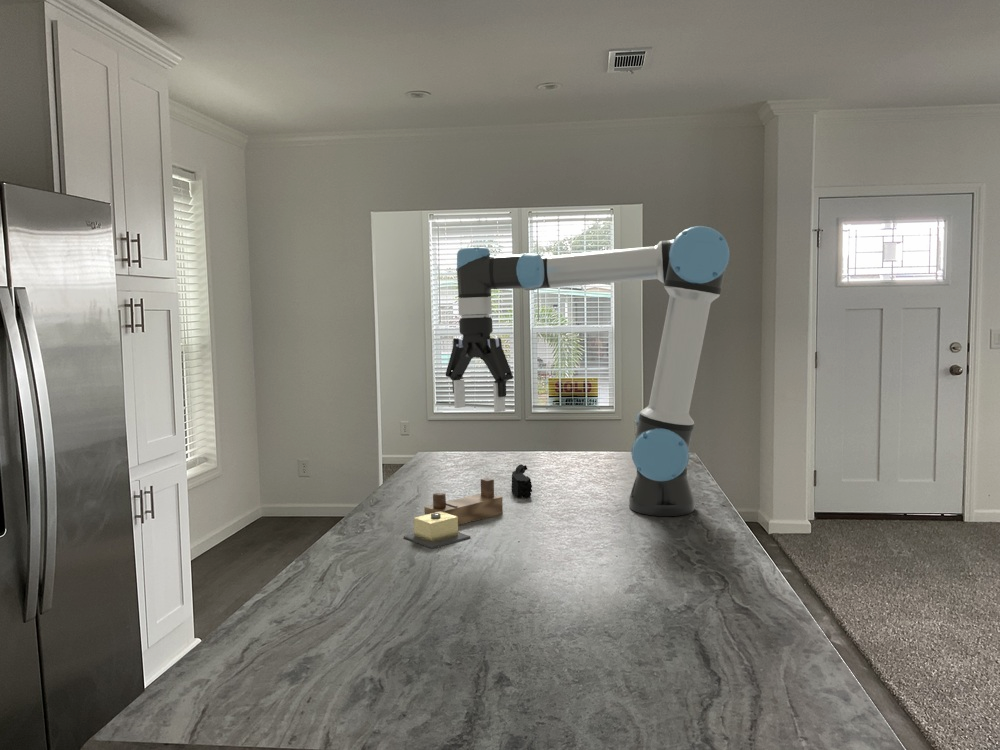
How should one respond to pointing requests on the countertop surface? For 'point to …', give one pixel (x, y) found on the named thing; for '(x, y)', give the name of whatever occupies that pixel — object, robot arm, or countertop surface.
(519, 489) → the toy
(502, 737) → the countertop surface
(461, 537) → the mat
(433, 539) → the yellow block with knob
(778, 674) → the countertop surface
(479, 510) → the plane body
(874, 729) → the countertop surface
